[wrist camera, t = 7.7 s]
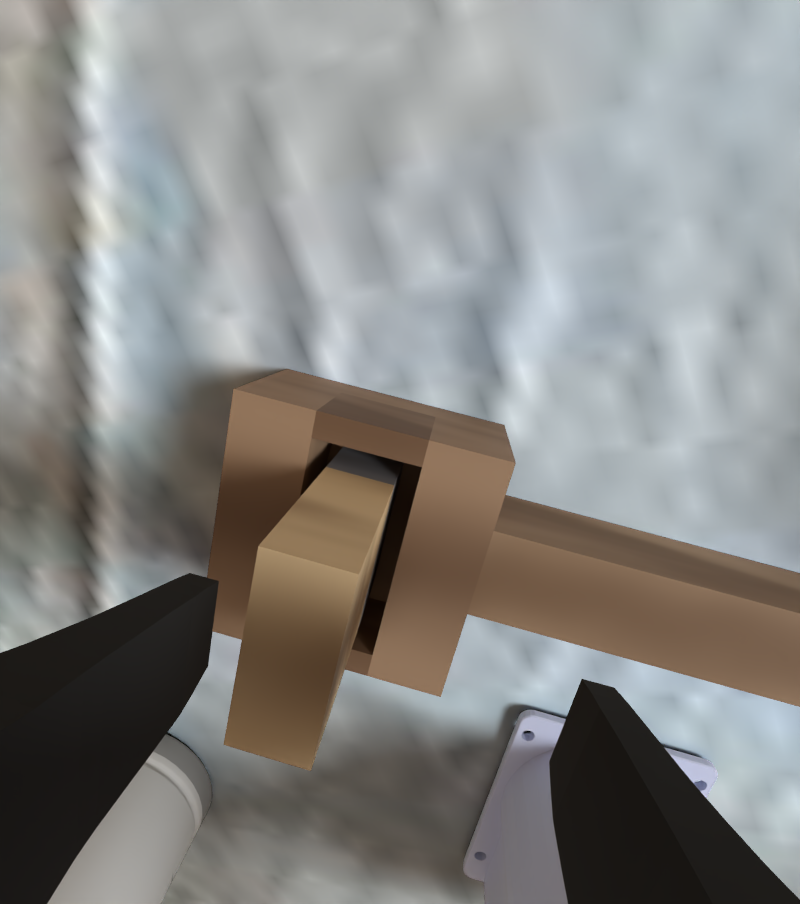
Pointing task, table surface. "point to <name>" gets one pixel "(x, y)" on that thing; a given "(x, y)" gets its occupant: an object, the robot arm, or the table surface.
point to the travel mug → (142, 833)
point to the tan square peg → (309, 607)
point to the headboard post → (489, 549)
